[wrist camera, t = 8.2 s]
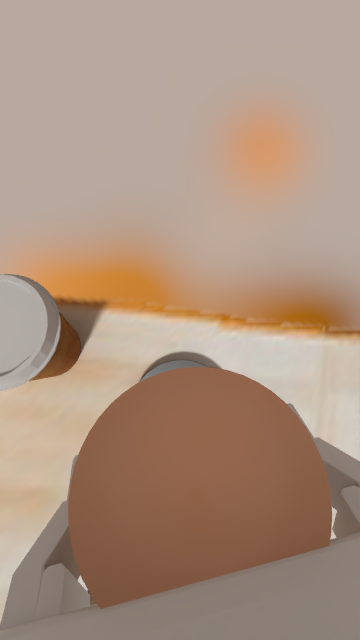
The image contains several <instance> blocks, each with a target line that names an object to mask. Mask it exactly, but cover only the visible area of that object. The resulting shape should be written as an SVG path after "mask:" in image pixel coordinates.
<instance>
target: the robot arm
mask: <svg viewBox="0 0 360 640" xmlns="http://www.w3.org/2000/svg"><path fill="white" fill-rule="evenodd" d="M287 405H288V406H289V407H290V408H291V409H292V410H293V411H294V413H295V414H296V415H297V416H298V418H299V419H300V420H301V422H302V423H303V424H304V426H305V427H306V428H307V426H306V424H305V423H304V421H303V420H302V418H301V417H300V415H299V414H298V412H297V411H296V409H295V408H294V406H293V405H292V404H291V403H289V404H287ZM307 430H308V432H309V434H310V435H311V437H312V439H313V441H314V442H315V444H316V447H317V449H318V451H319V454H320V456H321V458H322V461H323V464H324V467H325V471H326V474H327V478H328V483H329V489H330V494H331V506H332V507H333V508H335V509H336V510H337V513H336V517H335V521H334V525H333V531H334V533H335V535H336V537H337V538H335V539H331V540H330V542H329V546H327V547H324V548H320V549H317V550H313V551H309V552H306V553H302V554H298V555H295V556H291V557H288V558H284V559H280V560H277V561H273V562H269V563H266V564H262V565H258V566H255V567H251V568H248V569H244V570H240V571H237V572H233V573H229V574H226V575H222V576H219V577H215V578H211V579H208V580H204V581H200V582H197V583H193V584H190V585H186V586H182V587H179V588H175V589H171V590H168V591H164V592H161V593H157V594H153V595H150V596H146V597H142V598H139V599H135V600H132V601H128V602H124V603H121V604H117V605H114V606H110V607H106V608H103V609H100V607H99V606H98V604H95V605H91V606H90V595H89V594H88V592H87V591H86V590H85V589H84V588H83V587H82V585H81V584H80V583H79V582H78V581H77V580H78V578H79V576H80V571H79V569H78V566H77V563H76V561H75V557H74V553H73V549H72V545H71V541H70V532H69V523H68V500H69V492H70V484H69V491H68V497H67V501H64V502H63V503H62V504H61V505H60V507H59V508H58V510H57V511H56V513H55V514H54V516H53V517H52V518H51V520H50V521H49V523H48V524H47V526H46V527H45V529H44V530H43V532H42V533H41V534H40V536H39V537H38V539H37V540H36V542H35V543H34V545H33V546H32V548H31V549H30V550H29V552H28V553H27V555H26V556H25V558H24V559H23V561H22V562H21V564H20V565H19V566H18V568H17V569H16V571H15V572H14V574H13V577H12V581H11V585H10V589H9V593H8V597H7V601H6V605H5V609H4V613H3V617H2V621H1V625H0V640H360V461H358V460H356V459H355V458H353V457H351V456H349V455H348V454H346V453H344V452H343V451H341V450H339V449H337V448H336V447H334V446H332V445H331V444H329V443H327V442H325V441H324V440H322V439H320V438H319V437H318V438H314V437H313V435H312V434H311V432H310V431H309V429H308V428H307ZM77 458H78V455H76V456H75V457H74V459H73V464H72V470H71V477H70V483H71V479H72V475H73V471H74V467H75V463H76V461H77Z"/></svg>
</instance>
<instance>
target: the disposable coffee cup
mask: <svg viewBox="0 0 360 640" xmlns="http://www.w3.org/2000/svg"><path fill="white" fill-rule="evenodd" d="M80 349H81V347H80V340H79V337H78V334H77V333H76V331H75V330H74V329H73V328H72V327H71V326H70V324H69V323H68V322H67V321H66V320H65V318H64V317H63V316H62V315H61V314H60V312H59V310H58V307H57V305H56V303H55V301H54V299H53V298H52V296H51V295H50V293H49V292H48V291H47V290H46V289H45V288H44V287H43V286H41V285H40V284H39V283H37V282H35V281H33V280H31V279H29V278H27V277H23V276H19V275H11V274H0V391H2V390H6V389H11V388H15V387H17V386H19V385H22V384H24V383H26V382H27V381H31V380H37V379H43V378H47V377H53V376H58V375H61V374H63V373H65V372H67V371H68V370H69V369H71V368H72V367H73V365H74V364H75V363H76V361H77V360H78V357H79V354H80Z"/></svg>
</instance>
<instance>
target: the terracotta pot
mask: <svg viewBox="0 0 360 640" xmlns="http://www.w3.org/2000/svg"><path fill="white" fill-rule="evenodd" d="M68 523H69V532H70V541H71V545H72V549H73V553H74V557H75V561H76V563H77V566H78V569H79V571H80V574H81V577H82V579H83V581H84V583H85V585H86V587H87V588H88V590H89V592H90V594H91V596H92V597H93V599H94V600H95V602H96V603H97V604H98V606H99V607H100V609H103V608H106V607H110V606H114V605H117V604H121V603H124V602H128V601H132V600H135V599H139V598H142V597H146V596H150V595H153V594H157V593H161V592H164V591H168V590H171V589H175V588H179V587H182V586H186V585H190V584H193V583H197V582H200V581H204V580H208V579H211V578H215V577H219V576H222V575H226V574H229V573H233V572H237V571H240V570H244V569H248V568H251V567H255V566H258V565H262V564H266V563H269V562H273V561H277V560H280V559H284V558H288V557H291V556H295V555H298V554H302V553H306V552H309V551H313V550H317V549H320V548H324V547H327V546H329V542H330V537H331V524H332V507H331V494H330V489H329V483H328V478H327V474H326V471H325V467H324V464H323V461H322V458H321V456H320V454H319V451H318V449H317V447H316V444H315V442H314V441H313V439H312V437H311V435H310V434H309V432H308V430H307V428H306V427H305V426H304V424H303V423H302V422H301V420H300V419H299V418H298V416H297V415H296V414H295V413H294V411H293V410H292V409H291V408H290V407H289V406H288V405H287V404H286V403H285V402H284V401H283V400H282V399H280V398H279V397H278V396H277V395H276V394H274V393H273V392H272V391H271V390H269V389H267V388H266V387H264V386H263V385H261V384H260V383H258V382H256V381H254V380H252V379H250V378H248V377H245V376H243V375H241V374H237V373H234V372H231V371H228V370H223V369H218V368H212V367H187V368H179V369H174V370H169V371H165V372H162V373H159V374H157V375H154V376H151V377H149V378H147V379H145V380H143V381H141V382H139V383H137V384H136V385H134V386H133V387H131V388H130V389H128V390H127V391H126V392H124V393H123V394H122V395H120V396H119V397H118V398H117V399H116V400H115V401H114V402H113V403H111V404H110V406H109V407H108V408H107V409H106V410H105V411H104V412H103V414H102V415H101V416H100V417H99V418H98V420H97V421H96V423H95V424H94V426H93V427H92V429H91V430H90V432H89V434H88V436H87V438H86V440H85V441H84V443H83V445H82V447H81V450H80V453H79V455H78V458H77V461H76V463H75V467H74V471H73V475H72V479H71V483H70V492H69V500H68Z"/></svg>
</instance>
